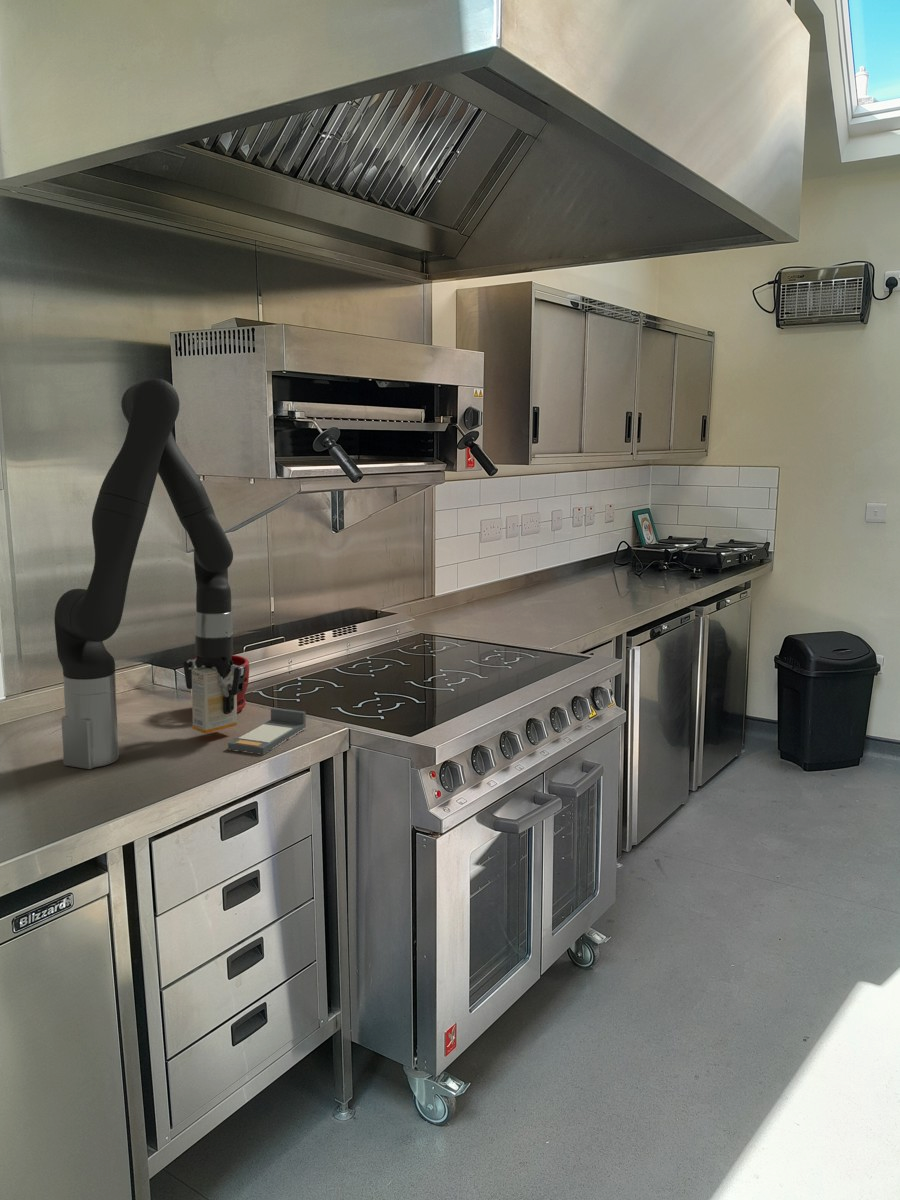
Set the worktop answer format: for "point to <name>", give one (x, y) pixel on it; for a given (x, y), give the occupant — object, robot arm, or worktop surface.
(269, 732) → the plate
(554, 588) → the worktop surface
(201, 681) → the supplement box
